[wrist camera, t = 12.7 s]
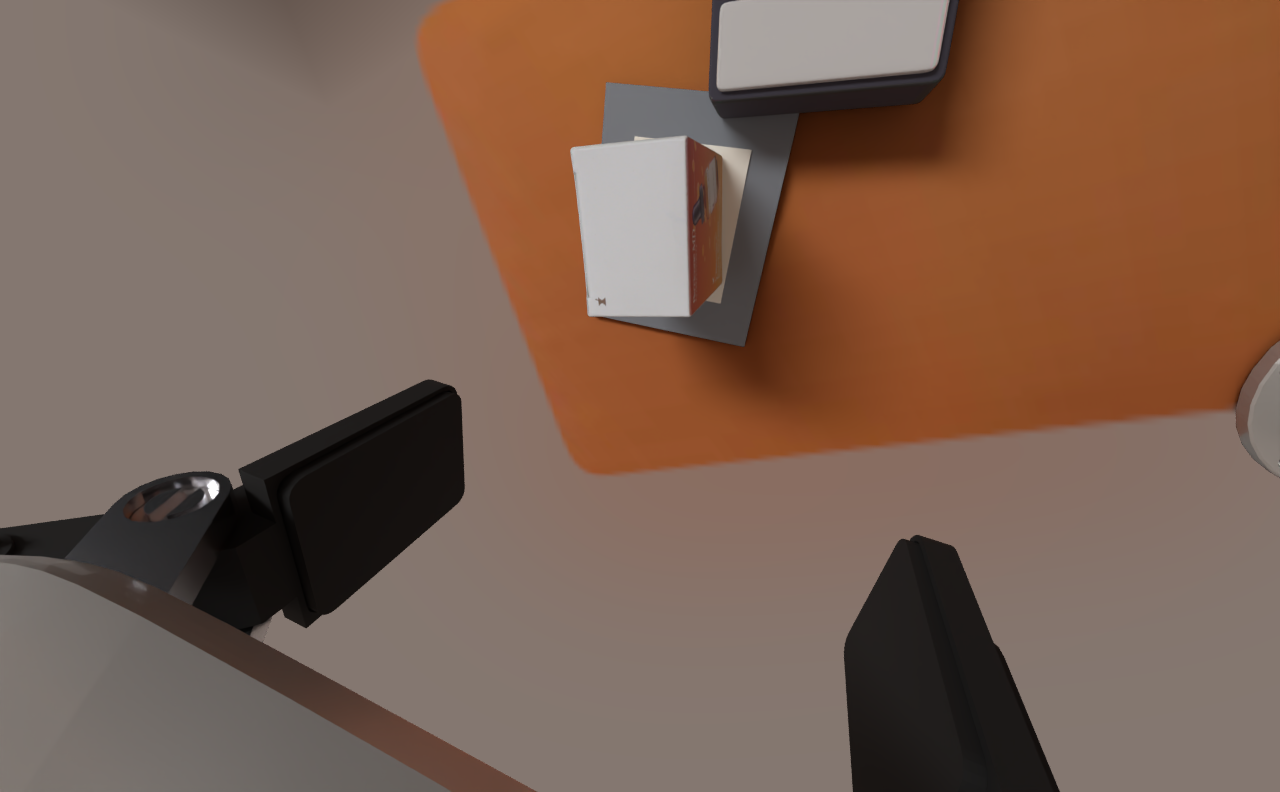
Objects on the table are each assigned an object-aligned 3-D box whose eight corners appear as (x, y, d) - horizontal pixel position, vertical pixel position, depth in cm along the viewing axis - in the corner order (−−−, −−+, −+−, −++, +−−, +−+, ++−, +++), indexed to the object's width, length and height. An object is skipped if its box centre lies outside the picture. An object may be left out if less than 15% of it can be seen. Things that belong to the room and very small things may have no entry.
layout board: (802, 101, 26) (802, 99, 26) (744, 344, 33) (743, 347, 32) (609, 84, 29) (605, 82, 28) (592, 312, 36) (588, 314, 35)
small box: (723, 284, 31) (692, 322, 22) (645, 285, 33) (586, 321, 23) (724, 152, 28) (689, 132, 19) (638, 160, 30) (567, 145, 20)
